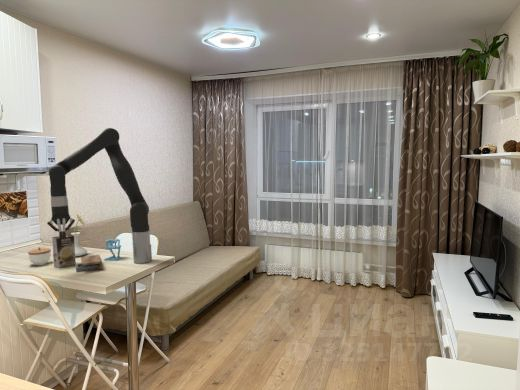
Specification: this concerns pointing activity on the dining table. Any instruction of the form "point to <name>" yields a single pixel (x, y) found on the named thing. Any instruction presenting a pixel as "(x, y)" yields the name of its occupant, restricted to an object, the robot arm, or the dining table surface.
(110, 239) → the chair
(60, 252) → the coffee box
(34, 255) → the lidded jar
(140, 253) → the robot arm
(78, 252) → the flower in vase
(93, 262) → the light brown rounded block
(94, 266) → the dark grey flat block
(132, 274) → the dining table surface
